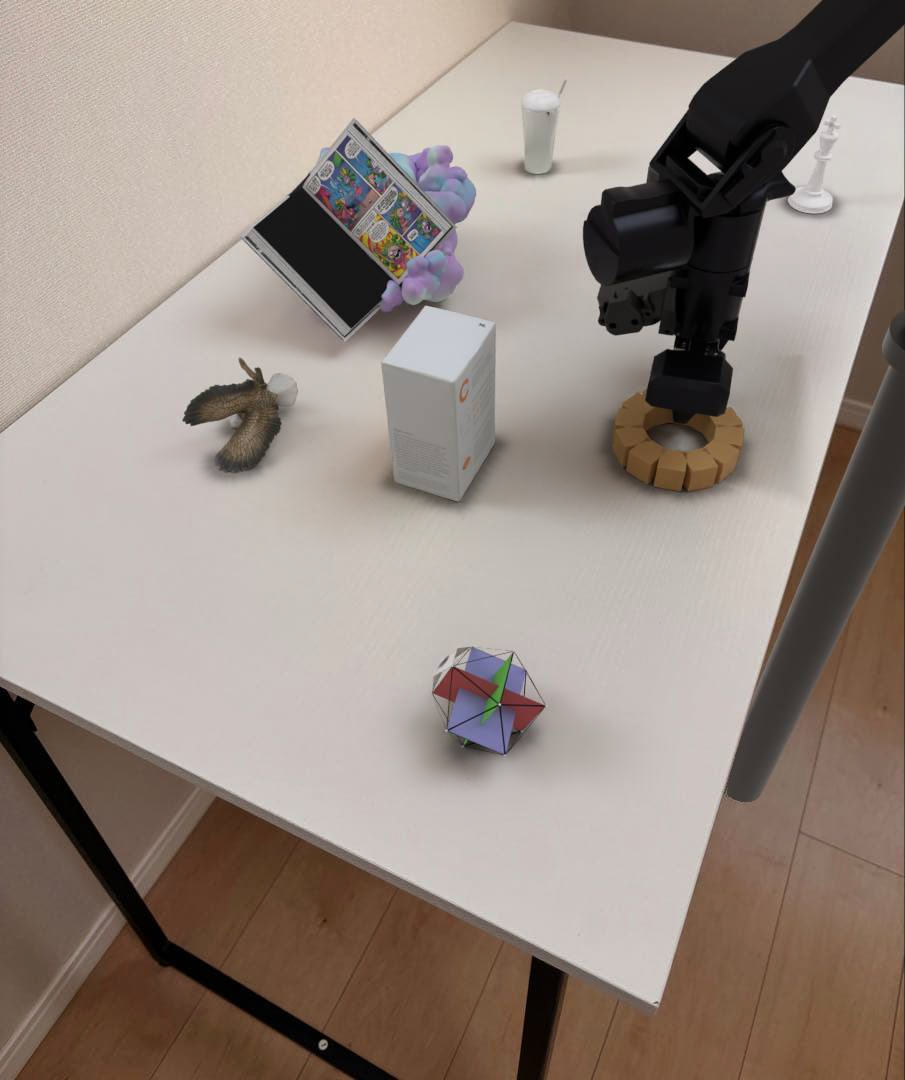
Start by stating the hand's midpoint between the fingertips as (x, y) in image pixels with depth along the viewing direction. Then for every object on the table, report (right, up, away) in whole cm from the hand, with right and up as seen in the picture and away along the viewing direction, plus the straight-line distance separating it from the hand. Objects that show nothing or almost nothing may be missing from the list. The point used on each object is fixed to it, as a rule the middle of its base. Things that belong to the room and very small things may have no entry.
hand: (682, 407), depth 84 cm
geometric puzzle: (-18, -25, -20) cm, 36 cm away
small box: (-21, -5, -2) cm, 22 cm away
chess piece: (+21, +27, +25) cm, 42 cm away
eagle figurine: (-39, -3, 0) cm, 39 cm away
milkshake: (-10, +34, +31) cm, 47 cm away
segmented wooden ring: (-1, -4, -2) cm, 4 cm away
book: (-28, +15, +15) cm, 35 cm away
